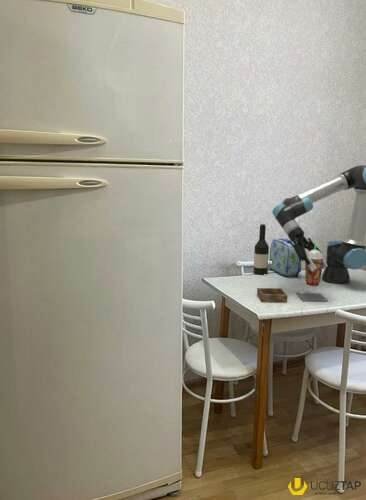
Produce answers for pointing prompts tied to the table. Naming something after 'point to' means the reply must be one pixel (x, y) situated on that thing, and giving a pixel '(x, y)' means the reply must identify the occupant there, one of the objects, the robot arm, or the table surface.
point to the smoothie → (315, 276)
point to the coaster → (312, 297)
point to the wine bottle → (261, 253)
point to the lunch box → (284, 258)
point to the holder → (271, 295)
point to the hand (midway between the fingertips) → (319, 268)
